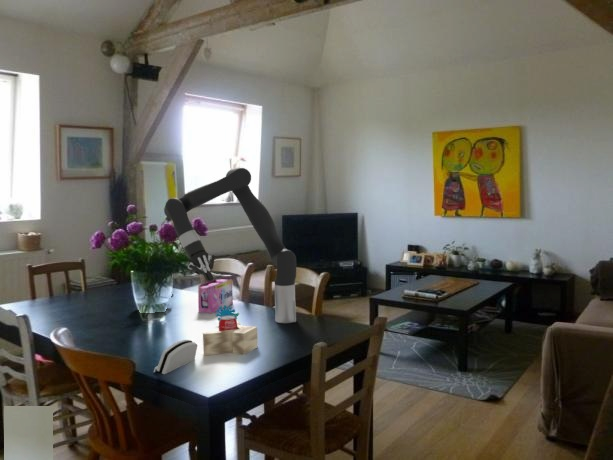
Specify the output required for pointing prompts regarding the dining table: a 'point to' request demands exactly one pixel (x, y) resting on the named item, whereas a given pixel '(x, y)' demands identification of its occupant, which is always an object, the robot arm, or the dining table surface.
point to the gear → (226, 312)
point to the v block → (231, 340)
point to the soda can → (227, 323)
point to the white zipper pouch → (177, 356)
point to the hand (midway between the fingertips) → (211, 281)
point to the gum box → (215, 295)
